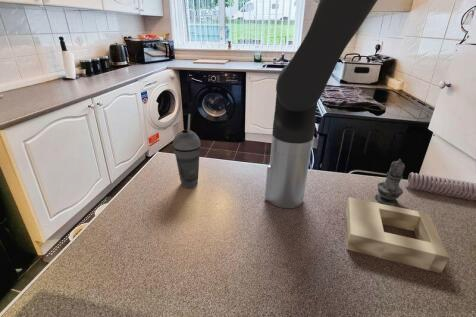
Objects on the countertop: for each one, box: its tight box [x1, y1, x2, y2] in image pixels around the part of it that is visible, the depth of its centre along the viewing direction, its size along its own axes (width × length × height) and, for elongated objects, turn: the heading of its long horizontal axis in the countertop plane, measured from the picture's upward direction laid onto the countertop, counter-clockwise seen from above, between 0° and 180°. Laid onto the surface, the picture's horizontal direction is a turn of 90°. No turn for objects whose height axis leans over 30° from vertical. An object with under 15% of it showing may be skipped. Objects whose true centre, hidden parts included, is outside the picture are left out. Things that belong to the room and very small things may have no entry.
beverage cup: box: [172, 113, 202, 189], centre depth 68 cm, size 7×7×20 cm
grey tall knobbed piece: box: [374, 158, 406, 207], centre depth 65 cm, size 6×6×12 cm
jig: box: [344, 197, 450, 274], centre depth 54 cm, size 16×13×4 cm
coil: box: [404, 171, 476, 202], centre depth 70 cm, size 5×5×18 cm
